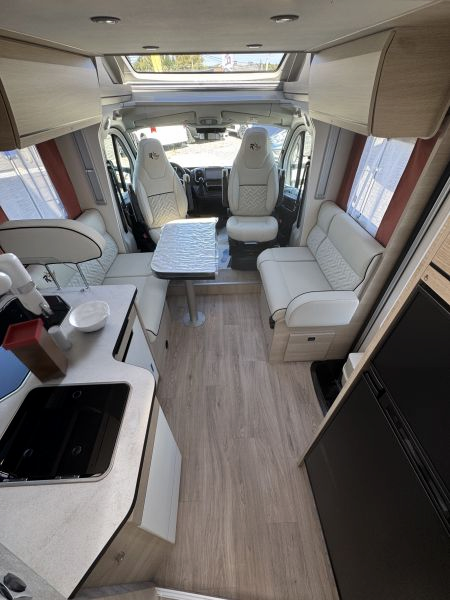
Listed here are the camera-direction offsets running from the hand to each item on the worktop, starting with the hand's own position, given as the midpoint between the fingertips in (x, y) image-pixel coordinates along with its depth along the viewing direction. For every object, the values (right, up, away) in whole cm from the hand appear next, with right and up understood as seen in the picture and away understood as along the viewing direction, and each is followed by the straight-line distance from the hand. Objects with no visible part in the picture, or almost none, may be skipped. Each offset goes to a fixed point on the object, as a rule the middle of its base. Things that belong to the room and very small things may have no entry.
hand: (46, 317), depth 104 cm
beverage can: (0, -14, +13) cm, 19 cm away
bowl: (+8, -5, +23) cm, 25 cm away
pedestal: (+2, -23, +3) cm, 23 cm away
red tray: (+1, -6, -12) cm, 14 cm away
